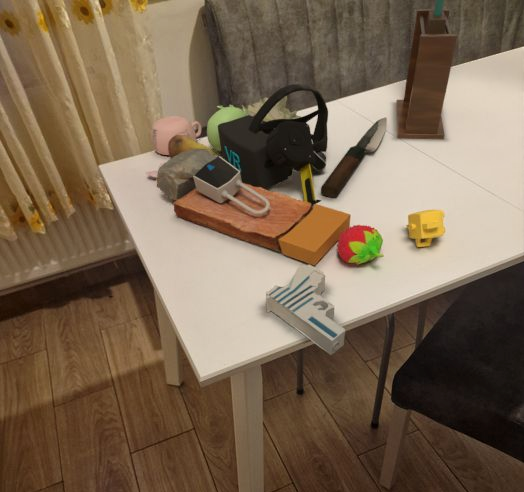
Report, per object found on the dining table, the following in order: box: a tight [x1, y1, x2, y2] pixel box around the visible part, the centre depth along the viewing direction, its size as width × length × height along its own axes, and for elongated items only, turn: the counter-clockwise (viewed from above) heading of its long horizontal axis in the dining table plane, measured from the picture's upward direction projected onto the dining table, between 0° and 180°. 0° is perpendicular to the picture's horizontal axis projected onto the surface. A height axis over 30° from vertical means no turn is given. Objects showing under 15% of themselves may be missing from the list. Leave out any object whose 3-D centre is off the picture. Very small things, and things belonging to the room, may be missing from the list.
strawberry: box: [336, 224, 384, 266], centre depth 81 cm, size 6×7×10 cm
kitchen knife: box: [320, 117, 388, 198], centre depth 106 cm, size 36×2×5 cm
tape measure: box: [266, 121, 322, 207], centre depth 91 cm, size 15×4×8 cm
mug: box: [150, 115, 202, 156], centre depth 112 cm, size 12×10×6 cm
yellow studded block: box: [406, 209, 446, 248], centre depth 83 cm, size 8×6×5 cm
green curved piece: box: [206, 104, 249, 152], centre depth 109 cm, size 12×11×11 cm
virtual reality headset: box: [218, 83, 329, 190], centre depth 100 cm, size 19×22×15 cm
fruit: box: [168, 135, 222, 159], centre depth 107 cm, size 6×6×12 cm
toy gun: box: [265, 264, 346, 356], centre depth 73 cm, size 3×14×10 cm
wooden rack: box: [395, 8, 458, 140], centre depth 110 cm, size 19×10×20 cm, turn 171°
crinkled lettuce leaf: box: [241, 95, 302, 122], centre depth 116 cm, size 16×8×15 cm
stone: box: [156, 149, 218, 201], centre depth 97 cm, size 12×8×8 cm
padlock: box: [193, 155, 270, 215], centre depth 89 cm, size 7×4×15 cm
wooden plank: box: [173, 183, 351, 266], centre depth 90 cm, size 13×30×3 cm, turn 56°
